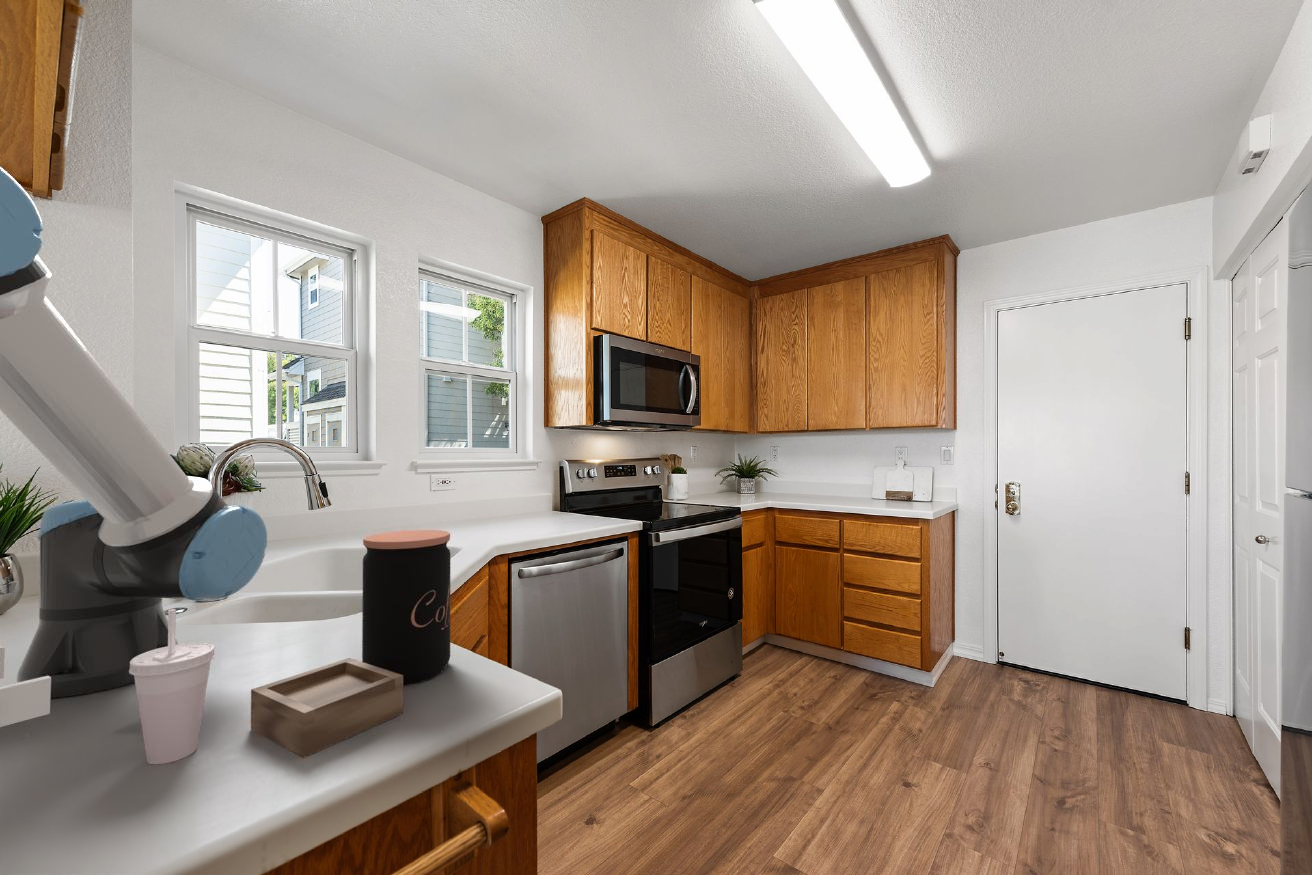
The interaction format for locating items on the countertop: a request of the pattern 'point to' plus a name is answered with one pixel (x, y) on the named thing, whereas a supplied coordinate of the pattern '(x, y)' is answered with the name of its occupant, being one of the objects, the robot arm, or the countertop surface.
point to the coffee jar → (407, 603)
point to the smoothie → (171, 695)
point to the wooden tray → (325, 705)
